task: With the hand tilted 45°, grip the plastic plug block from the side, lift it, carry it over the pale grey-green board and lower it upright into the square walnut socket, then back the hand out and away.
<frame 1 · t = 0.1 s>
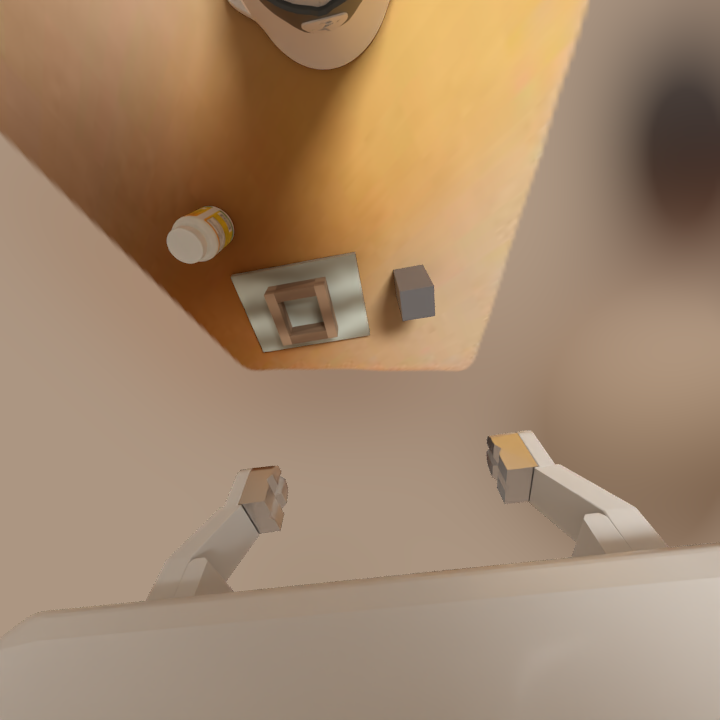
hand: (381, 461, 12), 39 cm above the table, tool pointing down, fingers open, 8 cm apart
plug block: (409, 281, 49), on the table
supplement bottle: (215, 225, 43), on the table
socket holder: (305, 305, 51), on the table
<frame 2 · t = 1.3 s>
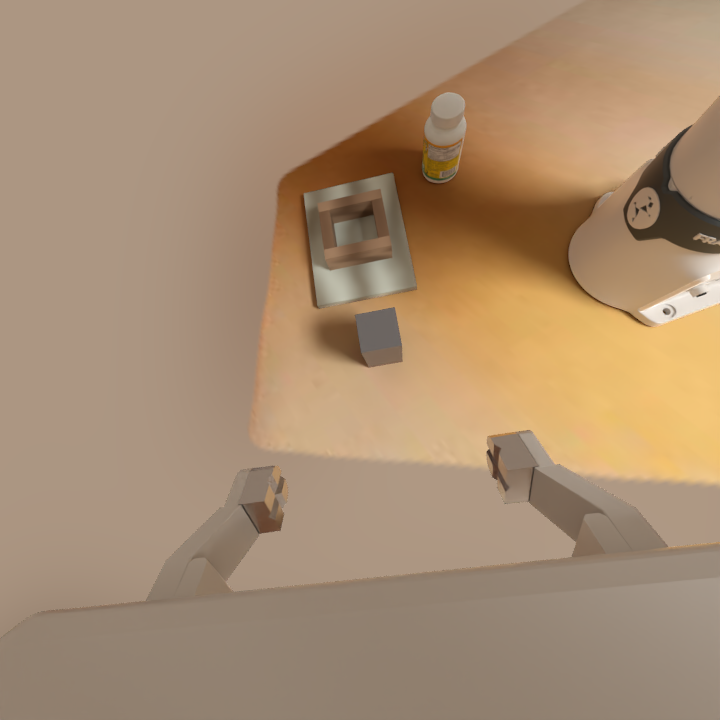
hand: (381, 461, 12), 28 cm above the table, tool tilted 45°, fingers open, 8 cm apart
plug block: (382, 348, 42), on the table
supplement bottle: (439, 170, 47), on the table
socket holder: (357, 240, 46), on the table
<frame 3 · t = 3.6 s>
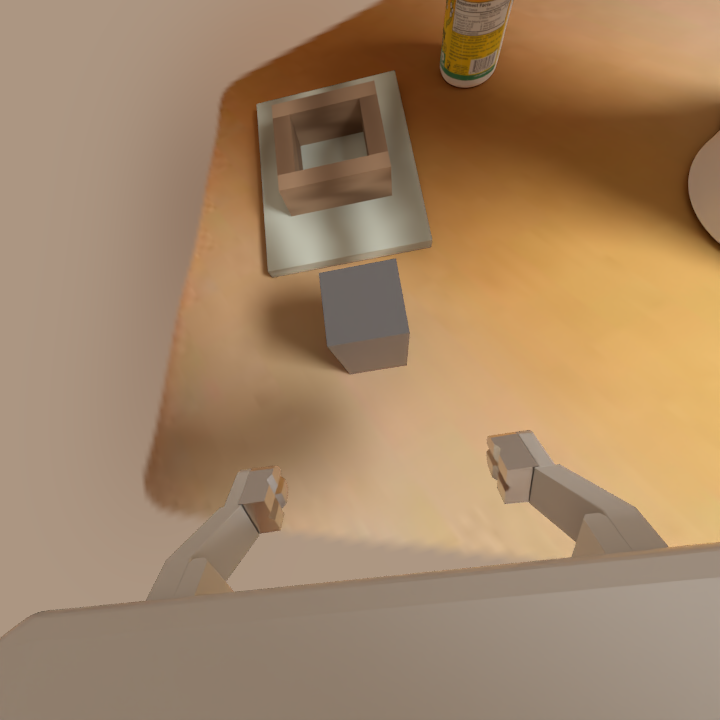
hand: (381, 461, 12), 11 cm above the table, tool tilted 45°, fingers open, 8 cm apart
plug block: (373, 342, 25), on the table
supplement bottle: (466, 70, 30), on the table
socket holder: (337, 173, 29), on the table
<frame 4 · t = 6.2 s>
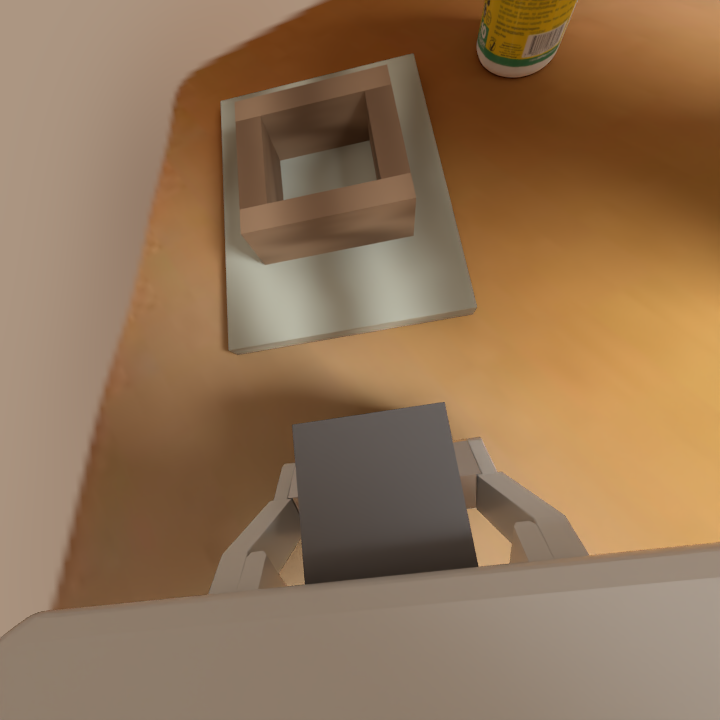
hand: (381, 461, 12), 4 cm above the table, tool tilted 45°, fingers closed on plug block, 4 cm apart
plug block: (388, 467, 16), on the table, touching gripper
supplement bottle: (513, 54, 22), on the table
socket holder: (332, 200, 21), on the table
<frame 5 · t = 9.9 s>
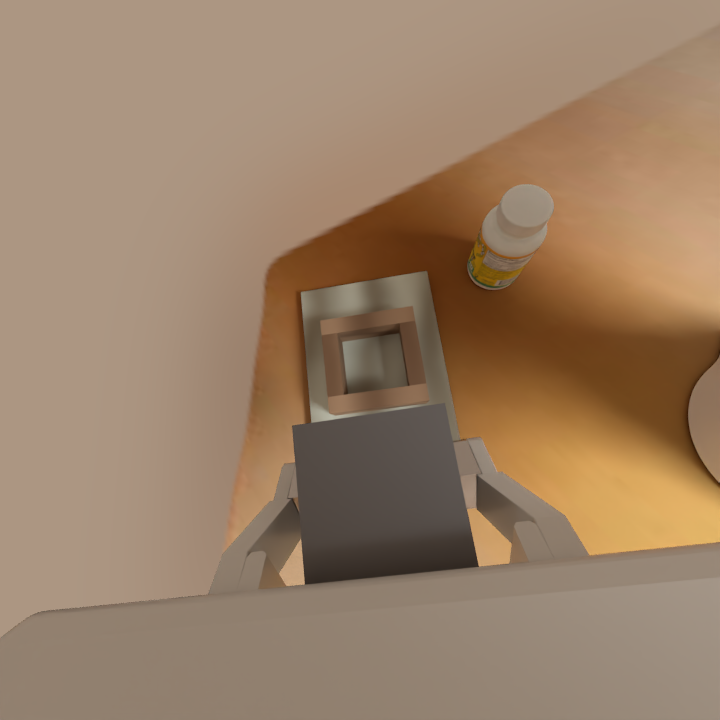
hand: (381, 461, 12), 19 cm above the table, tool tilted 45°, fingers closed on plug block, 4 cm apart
plug block: (388, 467, 16), point 15 cm above the table, touching gripper
supplement bottle: (491, 269, 34), on the table
socket holder: (375, 367, 33), on the table
when the fingers open (7 cm above the table, at t = 14.0 s): plug block drops 1 cm, resting on socket holder.
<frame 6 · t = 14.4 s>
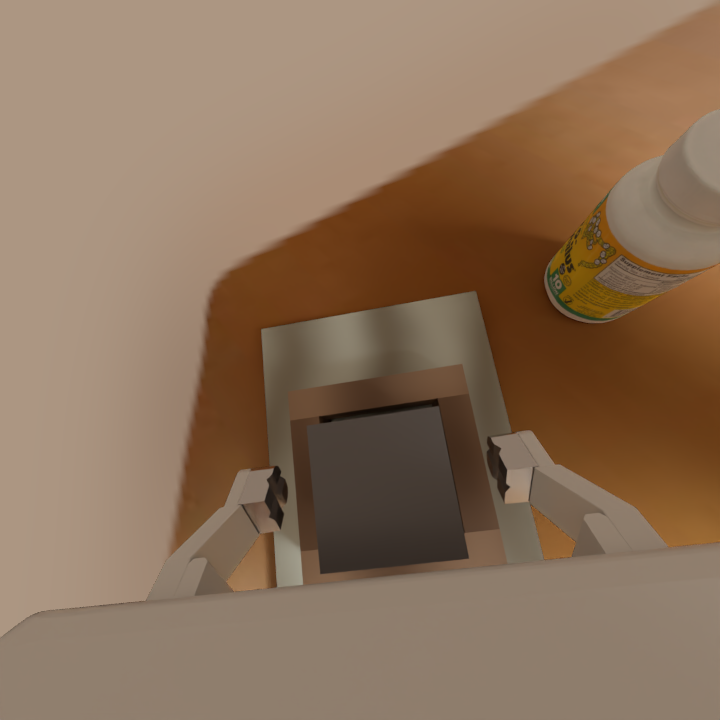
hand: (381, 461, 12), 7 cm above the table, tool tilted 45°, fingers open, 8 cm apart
plug block: (389, 464, 18), point 1 cm above the table, touching socket holder
supplement bottle: (584, 286, 20), on the table
socket holder: (389, 463, 19), on the table
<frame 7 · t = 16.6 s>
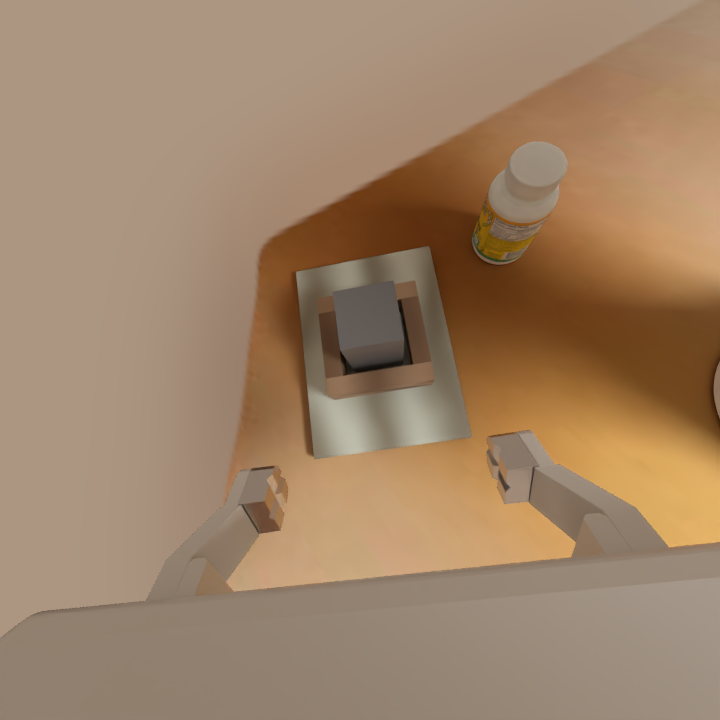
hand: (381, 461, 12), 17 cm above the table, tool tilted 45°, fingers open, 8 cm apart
plug block: (375, 345, 30), point 1 cm above the table, touching socket holder
supplement bottle: (497, 243, 32), on the table
socket holder: (375, 348, 31), on the table
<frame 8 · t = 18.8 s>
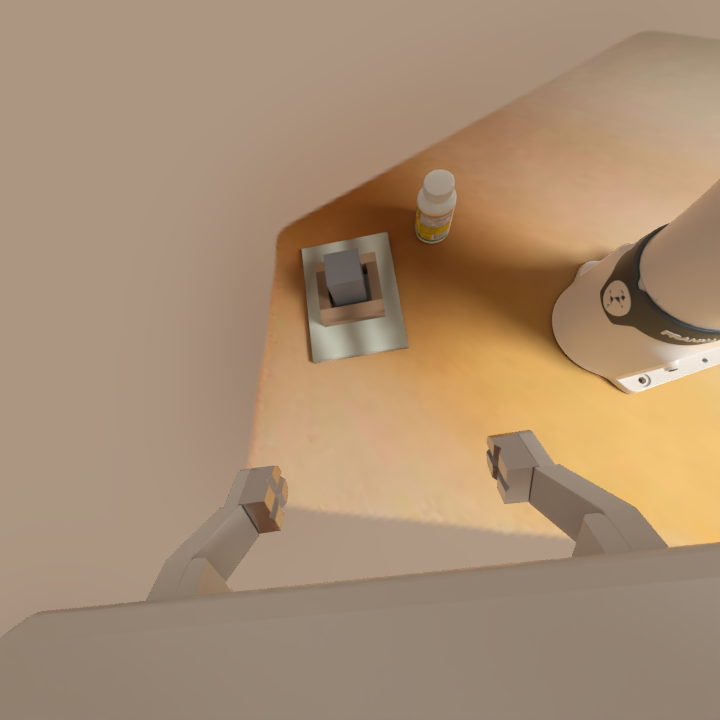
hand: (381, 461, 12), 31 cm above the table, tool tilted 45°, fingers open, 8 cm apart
plug block: (351, 294, 47), point 1 cm above the table, touching socket holder
supplement bottle: (431, 230, 49), on the table
socket holder: (352, 297, 48), on the table
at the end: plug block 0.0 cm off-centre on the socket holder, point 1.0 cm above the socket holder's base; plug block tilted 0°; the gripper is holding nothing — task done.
